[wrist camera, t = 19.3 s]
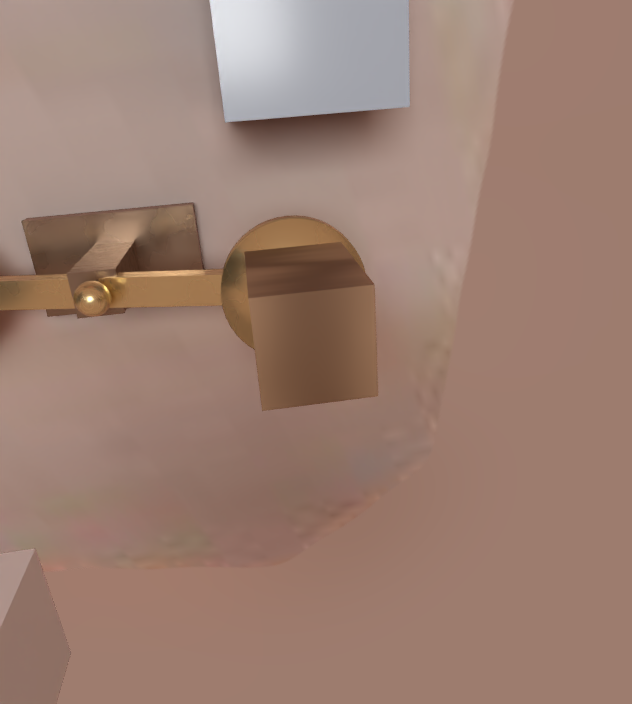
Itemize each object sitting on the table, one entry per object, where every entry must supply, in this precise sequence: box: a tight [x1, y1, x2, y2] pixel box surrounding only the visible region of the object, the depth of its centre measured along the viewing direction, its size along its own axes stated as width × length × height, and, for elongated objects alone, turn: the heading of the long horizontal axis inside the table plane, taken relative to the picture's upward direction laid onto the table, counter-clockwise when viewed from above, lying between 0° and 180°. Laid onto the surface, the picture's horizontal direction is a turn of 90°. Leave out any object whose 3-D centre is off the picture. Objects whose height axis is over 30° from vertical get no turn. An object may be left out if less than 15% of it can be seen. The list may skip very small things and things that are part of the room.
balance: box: [0, 203, 365, 350], centre depth 32 cm, size 27×7×11 cm, turn 95°
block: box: [244, 242, 378, 411], centre depth 25 cm, size 4×4×7 cm
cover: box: [210, 0, 410, 122], centre depth 29 cm, size 9×9×9 cm
